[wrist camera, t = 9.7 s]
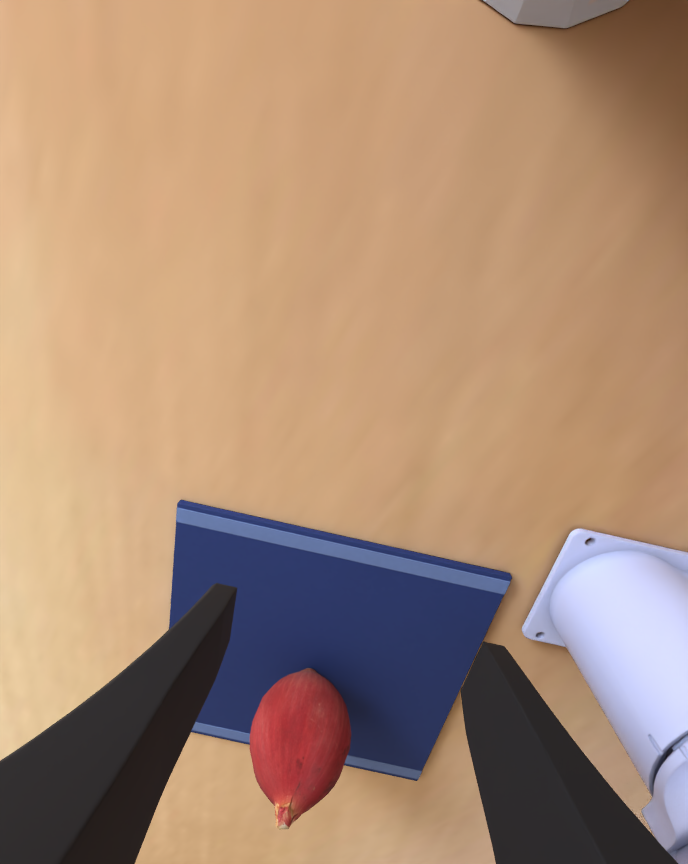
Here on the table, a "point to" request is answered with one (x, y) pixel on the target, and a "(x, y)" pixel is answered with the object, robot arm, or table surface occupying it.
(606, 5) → the french press
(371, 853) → the table surface
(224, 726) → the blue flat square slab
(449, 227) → the table surface
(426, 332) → the table surface
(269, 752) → the onion
